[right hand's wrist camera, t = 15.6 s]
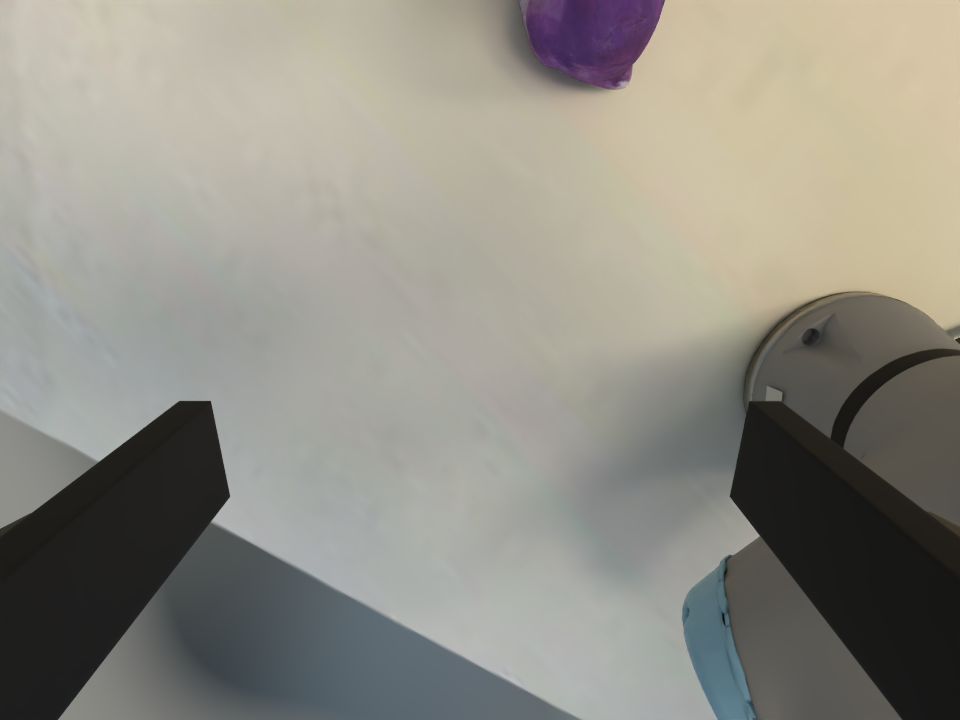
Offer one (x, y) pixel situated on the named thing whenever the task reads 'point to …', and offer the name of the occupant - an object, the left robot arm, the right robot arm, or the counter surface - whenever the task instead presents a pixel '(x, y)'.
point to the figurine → (591, 36)
